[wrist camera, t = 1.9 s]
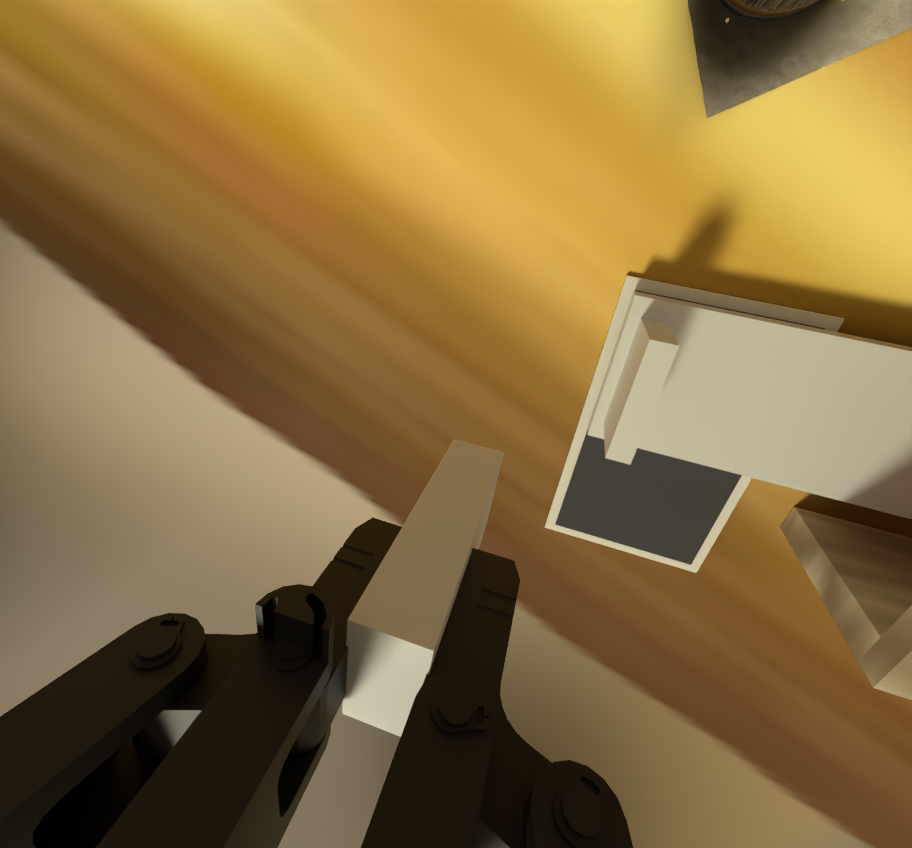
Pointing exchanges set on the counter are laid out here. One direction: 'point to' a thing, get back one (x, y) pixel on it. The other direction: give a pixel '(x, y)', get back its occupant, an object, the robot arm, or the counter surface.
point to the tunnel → (861, 590)
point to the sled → (761, 401)
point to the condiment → (782, 41)
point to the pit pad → (654, 463)
